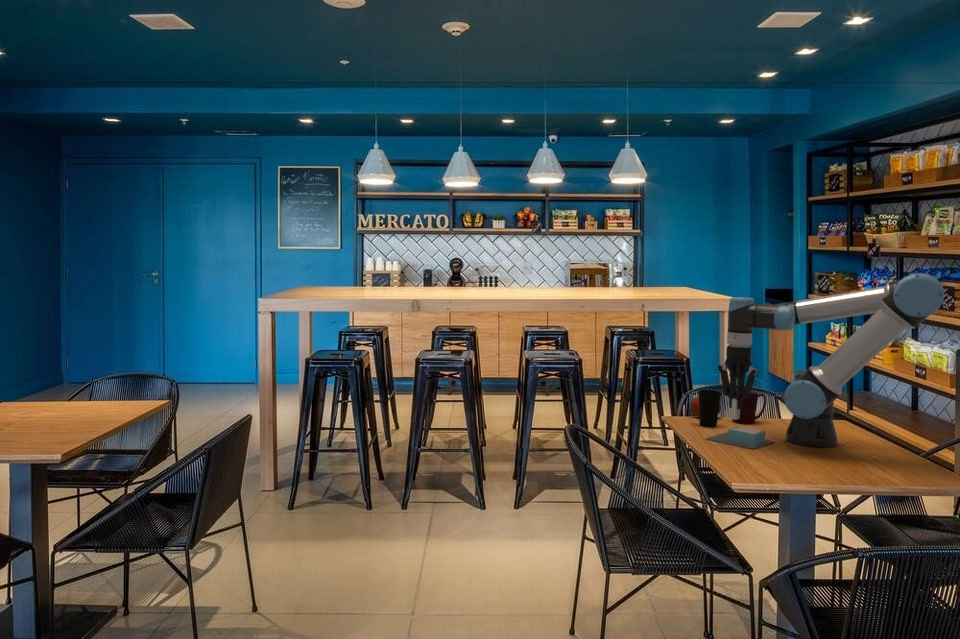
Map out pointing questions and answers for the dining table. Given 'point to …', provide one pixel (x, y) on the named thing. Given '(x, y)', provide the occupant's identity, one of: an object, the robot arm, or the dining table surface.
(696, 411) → the fruit
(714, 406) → the cup
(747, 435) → the card box
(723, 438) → the mat
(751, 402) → the mug
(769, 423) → the dining table surface
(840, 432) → the dining table surface
